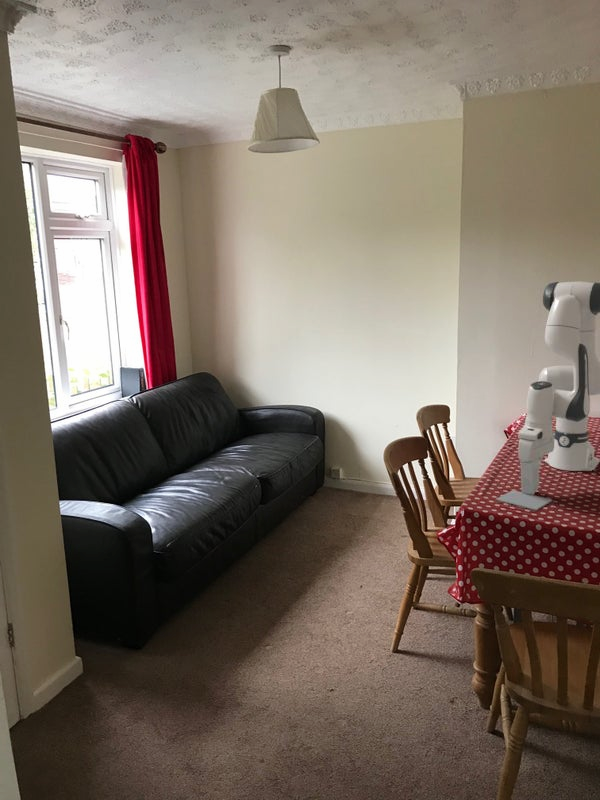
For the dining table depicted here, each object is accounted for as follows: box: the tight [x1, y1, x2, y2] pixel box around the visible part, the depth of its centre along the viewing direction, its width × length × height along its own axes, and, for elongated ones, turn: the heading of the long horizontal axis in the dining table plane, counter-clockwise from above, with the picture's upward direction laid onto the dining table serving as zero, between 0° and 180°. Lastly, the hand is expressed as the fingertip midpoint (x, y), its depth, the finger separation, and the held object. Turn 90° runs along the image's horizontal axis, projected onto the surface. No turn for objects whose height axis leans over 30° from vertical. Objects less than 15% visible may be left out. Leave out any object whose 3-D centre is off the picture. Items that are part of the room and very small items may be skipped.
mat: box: [495, 489, 553, 512], centre depth 221 cm, size 12×14×1 cm
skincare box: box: [520, 457, 540, 495], centre depth 225 cm, size 6×4×12 cm
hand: (535, 468), depth 229 cm, fingers closed
